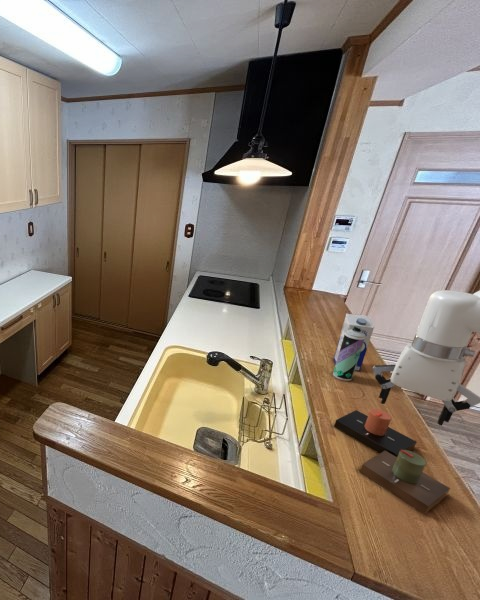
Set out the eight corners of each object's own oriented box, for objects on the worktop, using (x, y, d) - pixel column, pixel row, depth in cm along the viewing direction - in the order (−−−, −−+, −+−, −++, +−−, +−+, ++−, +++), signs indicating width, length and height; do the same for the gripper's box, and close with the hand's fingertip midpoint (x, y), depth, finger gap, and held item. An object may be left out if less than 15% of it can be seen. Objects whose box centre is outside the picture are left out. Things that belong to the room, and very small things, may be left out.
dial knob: (369, 422, 92) (375, 405, 90) (388, 432, 88) (395, 415, 86) (361, 427, 90) (367, 410, 88) (380, 438, 86) (387, 420, 84)
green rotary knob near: (421, 479, 74) (430, 460, 72) (411, 486, 73) (420, 467, 71) (397, 465, 78) (405, 446, 76) (388, 471, 76) (395, 452, 74)
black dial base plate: (413, 449, 86) (417, 441, 85) (393, 462, 82) (397, 454, 81) (353, 416, 98) (356, 409, 97) (333, 426, 94) (336, 419, 93)
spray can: (331, 371, 121) (346, 322, 114) (350, 375, 118) (366, 325, 111) (333, 378, 117) (348, 328, 110) (352, 382, 114) (369, 331, 107)
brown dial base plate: (446, 496, 73) (450, 487, 72) (424, 514, 69) (428, 505, 68) (381, 457, 83) (385, 449, 82) (359, 471, 79) (362, 463, 79)
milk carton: (354, 362, 126) (369, 315, 119) (360, 371, 120) (376, 322, 113) (332, 359, 129) (346, 312, 122) (337, 367, 123) (351, 319, 116)
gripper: (499, 356, 66) (466, 423, 72) (387, 329, 78) (366, 388, 84) (500, 369, 61) (465, 440, 67) (380, 338, 74) (359, 400, 80)
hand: (410, 411), depth 76 cm, fingers open, 9 cm apart
